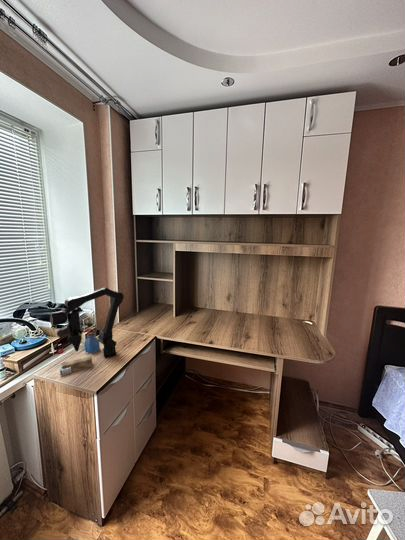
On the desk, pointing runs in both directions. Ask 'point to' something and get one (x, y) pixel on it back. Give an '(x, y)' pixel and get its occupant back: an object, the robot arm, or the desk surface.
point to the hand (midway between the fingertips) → (77, 347)
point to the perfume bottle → (91, 343)
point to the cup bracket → (65, 371)
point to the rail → (78, 364)
